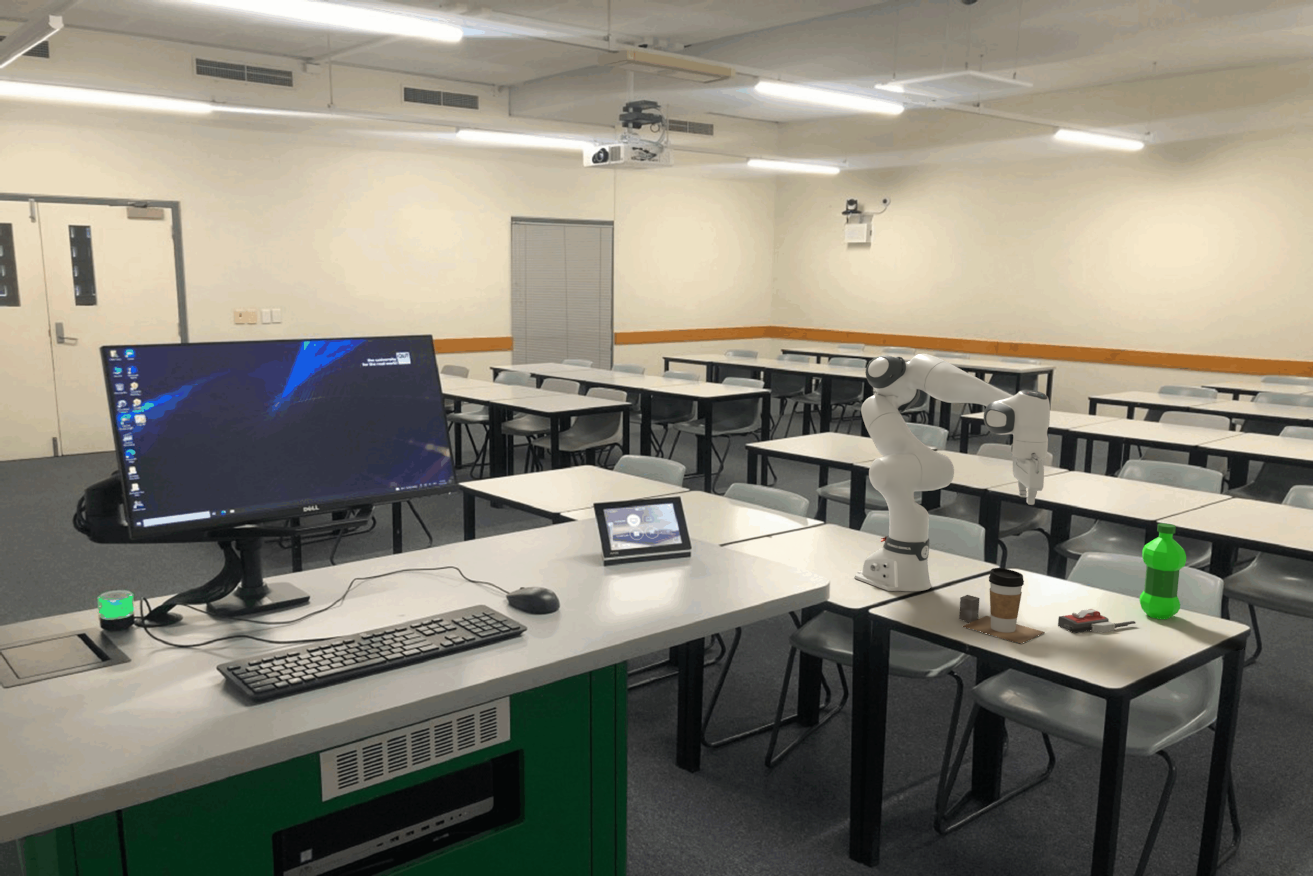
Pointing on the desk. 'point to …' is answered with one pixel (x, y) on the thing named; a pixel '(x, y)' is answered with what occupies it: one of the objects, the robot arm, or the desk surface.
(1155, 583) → the plastic bottle
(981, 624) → the walnut strip
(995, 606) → the coffee cup
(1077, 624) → the walkie-talkie
